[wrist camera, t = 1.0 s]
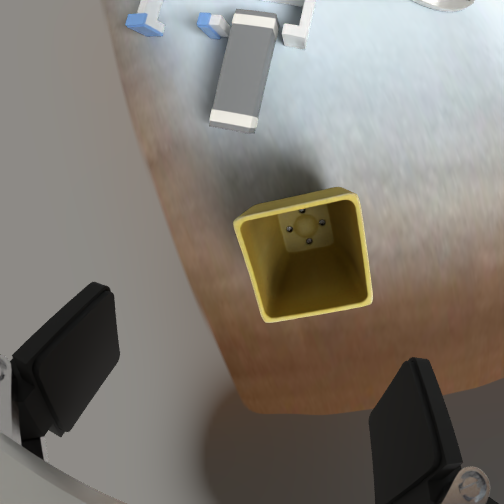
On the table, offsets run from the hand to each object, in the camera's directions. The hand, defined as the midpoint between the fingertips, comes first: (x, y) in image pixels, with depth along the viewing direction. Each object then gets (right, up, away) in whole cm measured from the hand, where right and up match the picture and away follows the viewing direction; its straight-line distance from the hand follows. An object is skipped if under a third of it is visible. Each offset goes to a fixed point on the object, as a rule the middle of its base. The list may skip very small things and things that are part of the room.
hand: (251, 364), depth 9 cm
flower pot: (+5, +6, +21) cm, 22 cm away
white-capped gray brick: (0, +20, +16) cm, 25 cm away
